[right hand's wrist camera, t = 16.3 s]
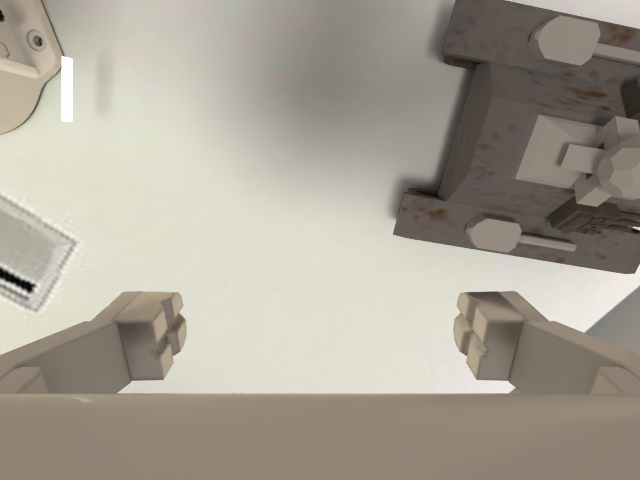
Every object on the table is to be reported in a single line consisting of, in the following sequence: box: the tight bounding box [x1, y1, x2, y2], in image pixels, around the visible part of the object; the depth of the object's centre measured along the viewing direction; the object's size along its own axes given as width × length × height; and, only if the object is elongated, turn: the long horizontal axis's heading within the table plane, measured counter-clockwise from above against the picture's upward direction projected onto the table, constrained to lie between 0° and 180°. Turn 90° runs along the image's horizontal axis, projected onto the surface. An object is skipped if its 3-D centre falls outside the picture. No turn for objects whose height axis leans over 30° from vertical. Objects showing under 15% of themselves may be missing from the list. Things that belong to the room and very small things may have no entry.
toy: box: [393, 0, 640, 274], centre depth 28 cm, size 25×20×15 cm
